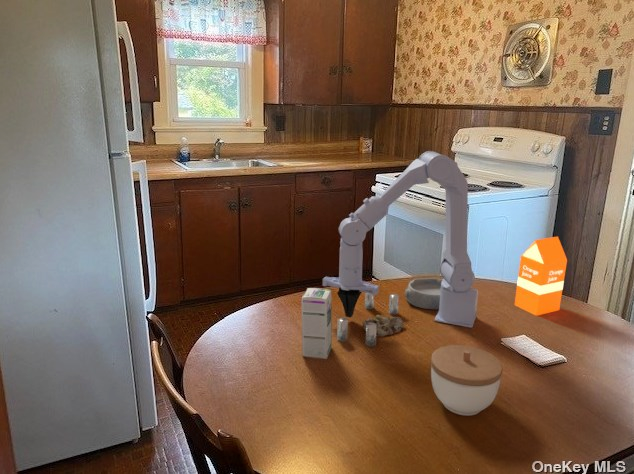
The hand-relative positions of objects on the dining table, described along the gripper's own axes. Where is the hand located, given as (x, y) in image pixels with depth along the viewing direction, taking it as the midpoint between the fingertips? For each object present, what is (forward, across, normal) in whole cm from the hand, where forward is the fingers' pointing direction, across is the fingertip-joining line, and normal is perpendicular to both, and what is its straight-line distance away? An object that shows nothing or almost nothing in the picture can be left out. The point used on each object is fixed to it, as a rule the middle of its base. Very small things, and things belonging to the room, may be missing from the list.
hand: (349, 315), depth 125 cm
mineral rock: (+2, +9, 0) cm, 10 cm away
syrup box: (+2, -1, -18) cm, 18 cm away
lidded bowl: (+2, +32, -24) cm, 40 cm away
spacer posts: (+2, +5, 0) cm, 6 cm away
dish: (+2, +16, +22) cm, 27 cm away
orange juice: (+2, +44, +30) cm, 53 cm away
